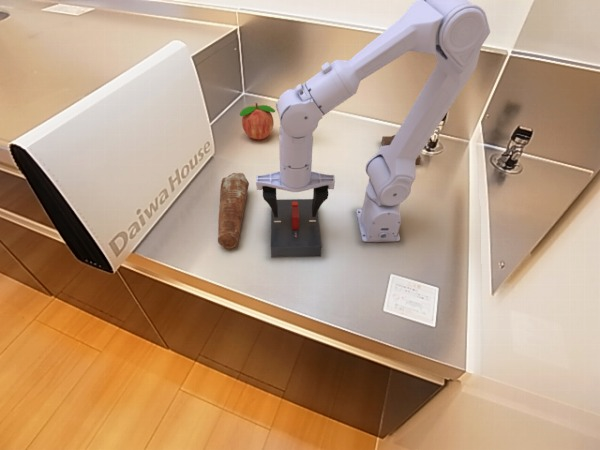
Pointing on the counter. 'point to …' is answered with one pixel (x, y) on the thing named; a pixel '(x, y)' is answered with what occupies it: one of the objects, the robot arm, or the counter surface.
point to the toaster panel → (295, 231)
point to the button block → (387, 141)
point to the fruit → (257, 121)
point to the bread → (231, 208)
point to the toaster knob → (295, 215)
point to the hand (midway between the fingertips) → (294, 213)
